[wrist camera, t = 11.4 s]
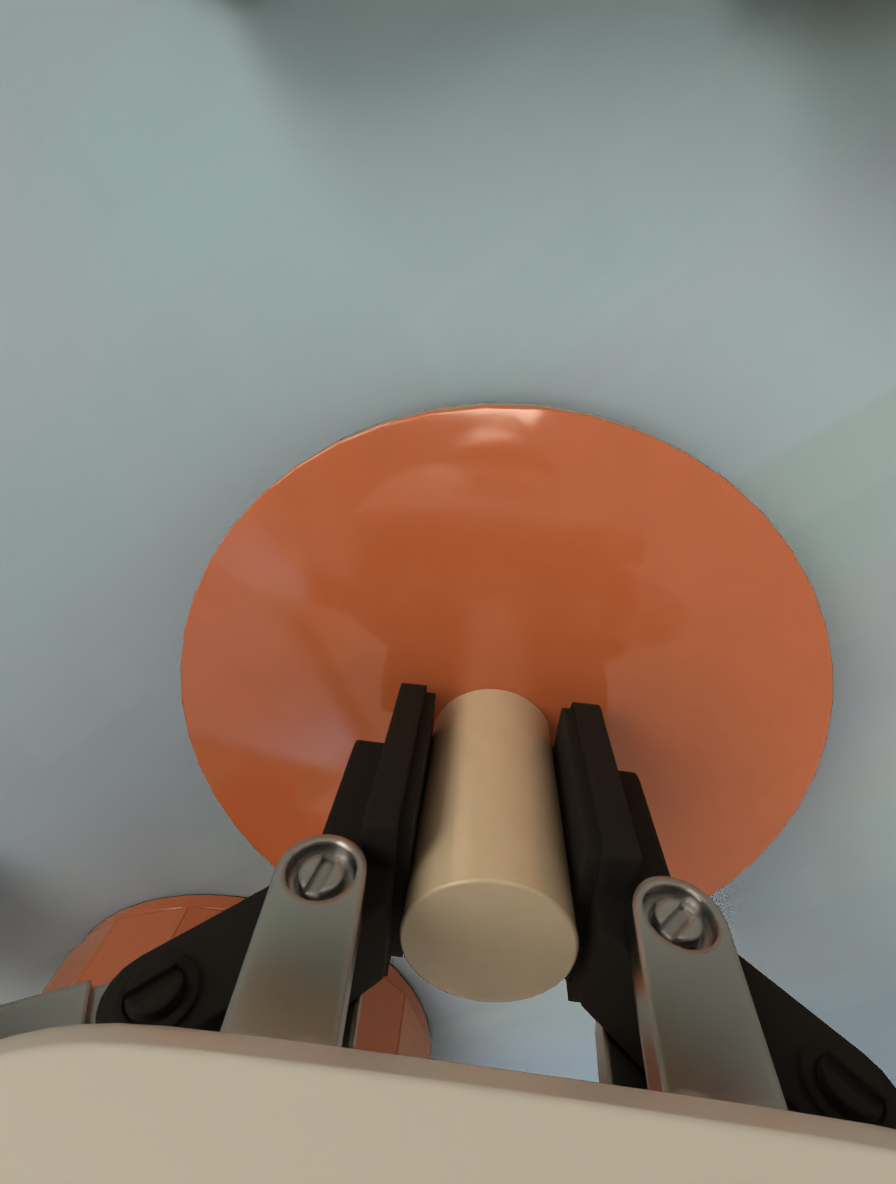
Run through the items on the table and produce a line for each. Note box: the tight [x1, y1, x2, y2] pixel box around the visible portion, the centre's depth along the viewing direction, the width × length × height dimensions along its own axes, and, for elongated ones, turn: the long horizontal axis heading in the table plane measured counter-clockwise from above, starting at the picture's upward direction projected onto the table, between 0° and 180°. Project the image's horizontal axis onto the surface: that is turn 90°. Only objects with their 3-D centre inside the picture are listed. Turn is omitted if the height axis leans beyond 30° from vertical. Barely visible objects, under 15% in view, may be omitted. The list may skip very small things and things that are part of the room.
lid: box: [181, 402, 833, 1002], centre depth 11 cm, size 14×14×6 cm
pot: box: [41, 895, 431, 1059], centre depth 17 cm, size 13×18×8 cm
